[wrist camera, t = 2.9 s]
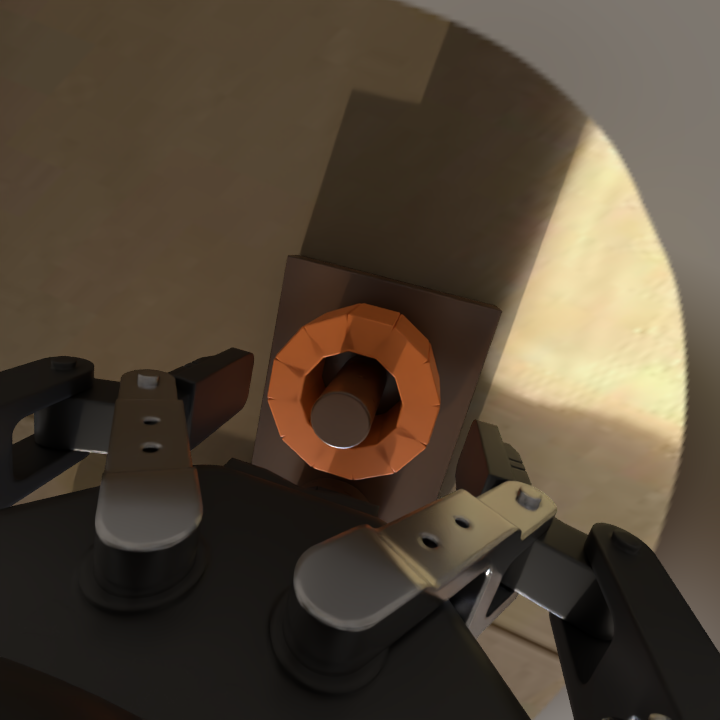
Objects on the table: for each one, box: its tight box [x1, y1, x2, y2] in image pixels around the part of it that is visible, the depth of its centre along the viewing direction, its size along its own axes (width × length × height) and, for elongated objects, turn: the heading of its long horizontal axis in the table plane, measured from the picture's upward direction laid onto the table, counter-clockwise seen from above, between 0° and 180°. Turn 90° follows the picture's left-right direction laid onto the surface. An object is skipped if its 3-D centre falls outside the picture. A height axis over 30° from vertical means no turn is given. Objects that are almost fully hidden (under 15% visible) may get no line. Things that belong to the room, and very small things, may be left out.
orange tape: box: [268, 303, 441, 480], centre depth 16 cm, size 6×6×3 cm
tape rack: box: [251, 255, 502, 523], centre depth 18 cm, size 10×17×8 cm, turn 167°
